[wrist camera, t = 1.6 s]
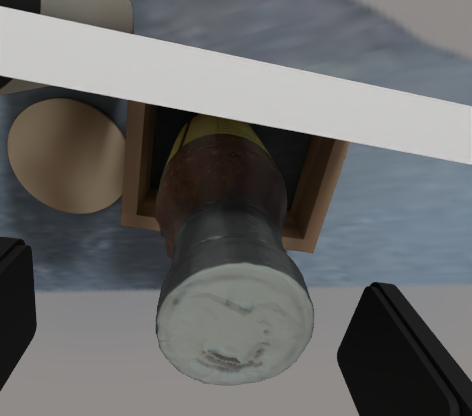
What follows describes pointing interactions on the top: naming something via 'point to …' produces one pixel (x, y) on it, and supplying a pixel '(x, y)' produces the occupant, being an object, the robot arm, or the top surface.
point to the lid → (229, 86)
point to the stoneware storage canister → (76, 10)
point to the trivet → (68, 155)
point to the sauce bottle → (227, 259)
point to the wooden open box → (297, 219)
